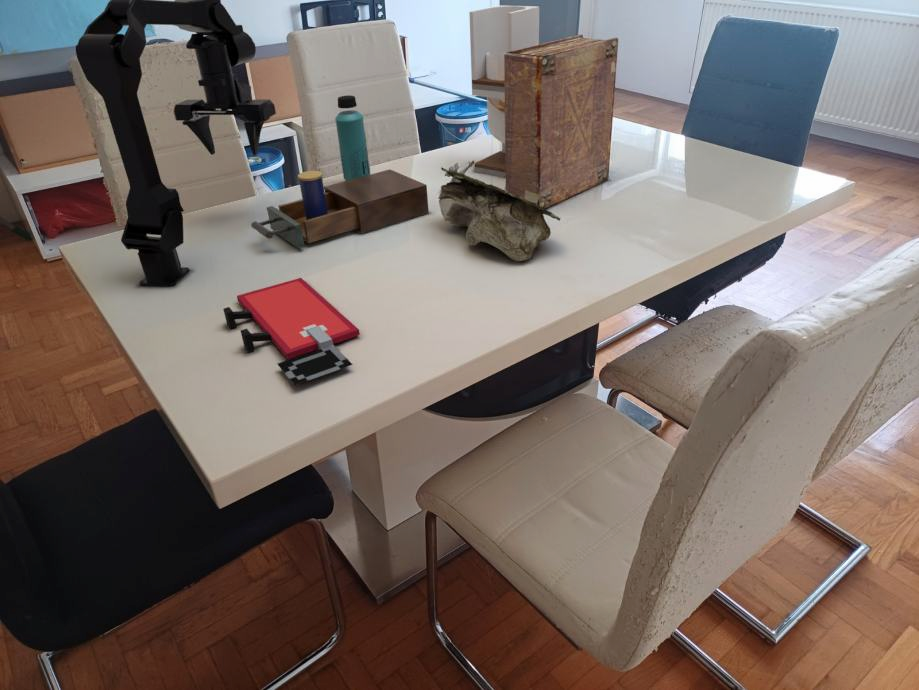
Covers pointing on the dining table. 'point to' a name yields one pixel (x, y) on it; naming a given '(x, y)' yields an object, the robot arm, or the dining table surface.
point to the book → (559, 117)
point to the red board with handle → (296, 328)
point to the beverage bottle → (352, 140)
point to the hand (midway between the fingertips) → (234, 154)
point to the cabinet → (383, 199)
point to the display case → (498, 65)
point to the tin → (313, 194)
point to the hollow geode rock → (494, 216)
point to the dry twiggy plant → (460, 171)
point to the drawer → (309, 221)
